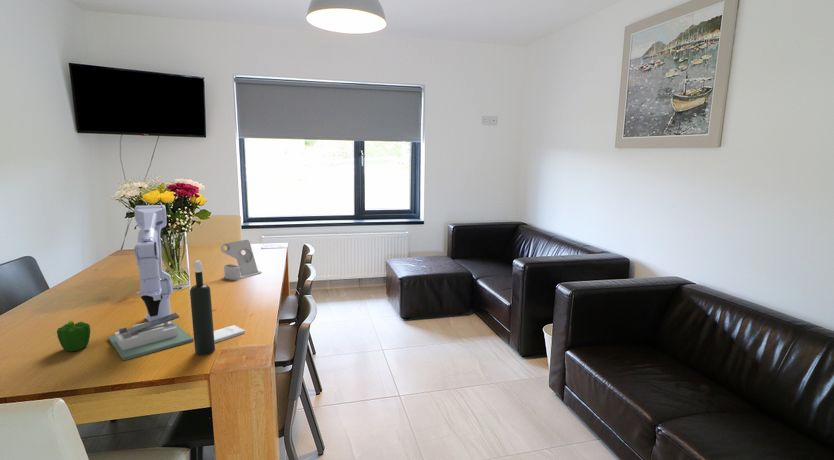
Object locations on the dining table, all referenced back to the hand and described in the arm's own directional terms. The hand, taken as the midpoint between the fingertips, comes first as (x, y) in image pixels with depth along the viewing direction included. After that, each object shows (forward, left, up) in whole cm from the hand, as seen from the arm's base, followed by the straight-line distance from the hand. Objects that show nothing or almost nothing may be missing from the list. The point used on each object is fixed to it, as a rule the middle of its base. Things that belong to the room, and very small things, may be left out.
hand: (153, 315), depth 145 cm
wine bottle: (+22, +8, -9) cm, 25 cm away
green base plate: (0, -2, -8) cm, 9 cm away
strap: (0, -1, -3) cm, 3 cm away
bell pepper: (-10, -21, -9) cm, 24 cm away
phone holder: (-58, +56, -9) cm, 81 cm away
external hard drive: (+13, +17, -9) cm, 24 cm away
